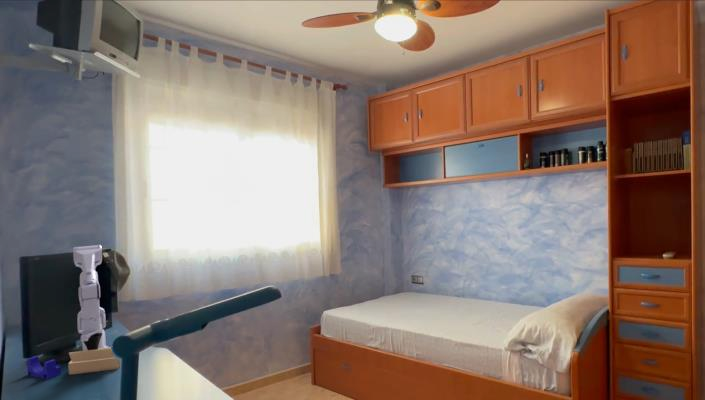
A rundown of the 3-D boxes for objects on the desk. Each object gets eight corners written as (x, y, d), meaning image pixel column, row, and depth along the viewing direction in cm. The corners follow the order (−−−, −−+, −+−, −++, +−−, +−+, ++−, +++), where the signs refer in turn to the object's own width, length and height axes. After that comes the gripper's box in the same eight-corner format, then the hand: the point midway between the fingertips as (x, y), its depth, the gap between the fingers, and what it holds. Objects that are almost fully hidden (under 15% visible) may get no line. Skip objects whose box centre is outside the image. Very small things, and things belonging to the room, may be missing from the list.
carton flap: (69, 352, 151) (68, 353, 151) (112, 347, 154) (111, 348, 154) (72, 360, 154) (72, 362, 153) (114, 355, 157) (114, 357, 156)
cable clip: (60, 375, 154) (59, 358, 154) (47, 380, 150) (46, 363, 150) (41, 370, 159) (40, 354, 159) (27, 375, 155) (26, 358, 155)
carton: (84, 360, 167) (83, 350, 167) (130, 354, 171) (130, 344, 171) (68, 374, 153) (67, 363, 153) (119, 368, 157) (119, 357, 157)
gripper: (86, 313, 161) (88, 349, 161) (70, 324, 146) (72, 364, 147) (107, 311, 162) (109, 347, 162) (92, 322, 148) (95, 361, 148)
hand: (93, 355), depth 154 cm, fingers closed, pressing on carton flap
